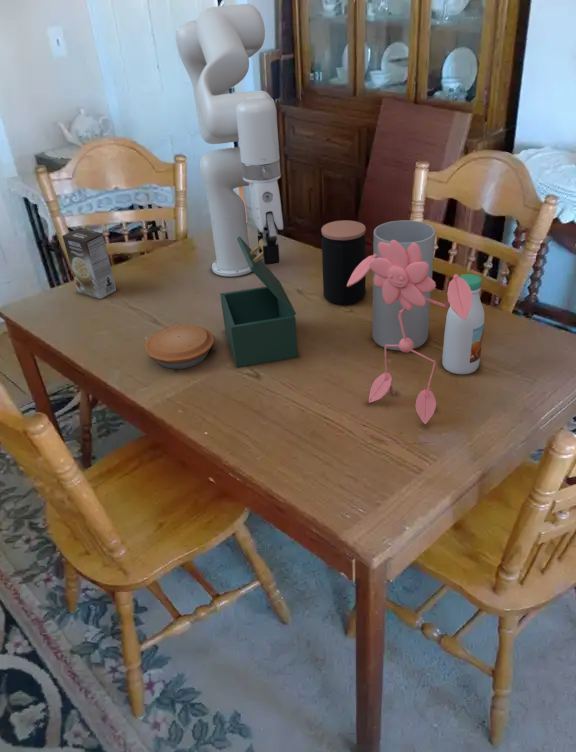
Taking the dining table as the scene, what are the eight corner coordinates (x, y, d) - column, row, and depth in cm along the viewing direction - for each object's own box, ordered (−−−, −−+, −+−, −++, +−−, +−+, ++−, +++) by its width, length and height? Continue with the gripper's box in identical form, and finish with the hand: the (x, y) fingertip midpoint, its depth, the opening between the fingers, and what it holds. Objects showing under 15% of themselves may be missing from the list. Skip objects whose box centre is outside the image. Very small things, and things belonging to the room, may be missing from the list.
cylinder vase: (365, 348, 147) (366, 240, 132) (380, 321, 157) (382, 218, 141) (421, 355, 144) (428, 245, 128) (432, 328, 153) (440, 222, 138)
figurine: (363, 377, 138) (364, 212, 117) (472, 423, 124) (495, 244, 102) (315, 411, 129) (306, 240, 108) (426, 465, 115) (441, 279, 94)
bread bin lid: (249, 268, 131) (269, 251, 130) (236, 238, 144) (254, 222, 143) (293, 316, 140) (312, 300, 139) (277, 283, 153) (294, 269, 152)
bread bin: (236, 367, 144) (231, 327, 138) (225, 331, 157) (219, 293, 151) (297, 356, 146) (295, 317, 140) (281, 322, 159) (278, 284, 153)
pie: (197, 379, 141) (194, 359, 138) (135, 369, 146) (130, 349, 142) (227, 343, 152) (225, 324, 149) (168, 335, 157) (164, 316, 154)
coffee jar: (365, 287, 171) (366, 219, 160) (364, 306, 163) (365, 236, 152) (325, 287, 173) (322, 220, 161) (322, 306, 164) (319, 237, 153)
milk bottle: (457, 379, 136) (466, 290, 124) (434, 362, 141) (441, 275, 129) (486, 368, 138) (498, 280, 126) (463, 352, 144) (472, 266, 132)
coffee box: (76, 292, 178) (60, 235, 168) (94, 283, 182) (79, 226, 172) (100, 299, 174) (85, 241, 164) (118, 290, 178) (103, 232, 168)
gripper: (289, 179, 123) (295, 271, 134) (271, 156, 136) (278, 241, 147) (249, 184, 121) (259, 276, 132) (235, 160, 135) (245, 246, 146)
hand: (269, 257), depth 140 cm, fingers closed on bread bin lid, 5 cm apart
